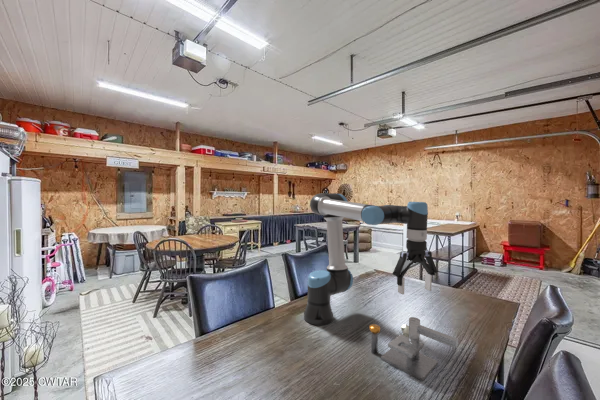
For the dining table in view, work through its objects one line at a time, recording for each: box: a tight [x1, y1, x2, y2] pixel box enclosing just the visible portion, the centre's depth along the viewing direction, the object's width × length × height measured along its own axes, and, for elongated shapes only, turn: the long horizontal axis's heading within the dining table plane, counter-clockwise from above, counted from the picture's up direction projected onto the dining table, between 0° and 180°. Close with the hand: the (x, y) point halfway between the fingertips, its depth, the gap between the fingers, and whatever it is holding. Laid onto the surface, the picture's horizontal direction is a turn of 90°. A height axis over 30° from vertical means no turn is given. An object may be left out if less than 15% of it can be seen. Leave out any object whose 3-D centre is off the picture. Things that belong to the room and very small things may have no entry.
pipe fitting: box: [400, 323, 409, 338], centre depth 117 cm, size 8×4×7 cm
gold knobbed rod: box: [368, 323, 381, 355], centre depth 105 cm, size 4×4×10 cm
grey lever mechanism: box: [380, 316, 459, 382], centre depth 96 cm, size 23×15×15 cm, turn 42°
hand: (414, 291), depth 106 cm, fingers open, 13 cm apart
